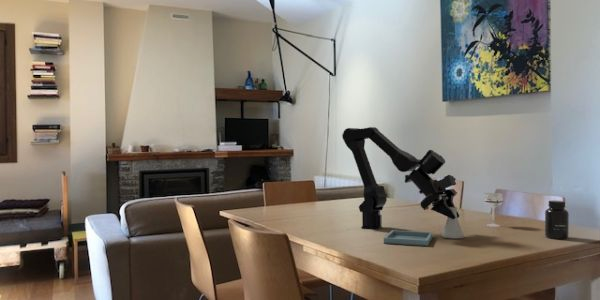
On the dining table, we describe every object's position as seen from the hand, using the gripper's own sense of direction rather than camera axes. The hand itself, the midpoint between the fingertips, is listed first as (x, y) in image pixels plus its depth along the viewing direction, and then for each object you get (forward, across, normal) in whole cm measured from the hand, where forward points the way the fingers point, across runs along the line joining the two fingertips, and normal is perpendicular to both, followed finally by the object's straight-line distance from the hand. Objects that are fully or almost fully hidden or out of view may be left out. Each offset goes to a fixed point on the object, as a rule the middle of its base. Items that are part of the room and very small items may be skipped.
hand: (456, 217), depth 156 cm
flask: (+4, 0, +6) cm, 7 cm away
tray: (-3, -14, +12) cm, 18 cm away
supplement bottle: (+23, +18, -14) cm, 33 cm away
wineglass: (+7, +30, +3) cm, 30 cm away
